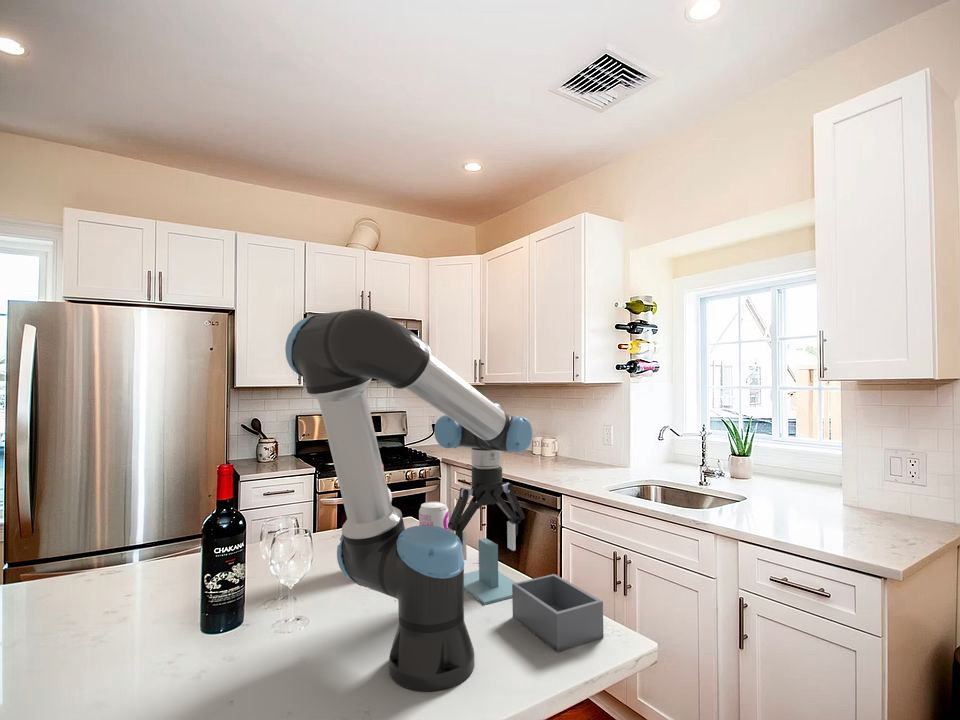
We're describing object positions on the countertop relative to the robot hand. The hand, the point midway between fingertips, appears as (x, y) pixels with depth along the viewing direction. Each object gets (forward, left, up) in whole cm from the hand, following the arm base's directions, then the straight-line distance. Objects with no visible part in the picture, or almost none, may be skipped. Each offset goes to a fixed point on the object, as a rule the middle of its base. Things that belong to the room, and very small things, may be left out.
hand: (487, 553), depth 127 cm
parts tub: (-16, -19, -8) cm, 26 cm away
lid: (0, 0, -8) cm, 8 cm away
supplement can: (+14, +20, -8) cm, 26 cm away
